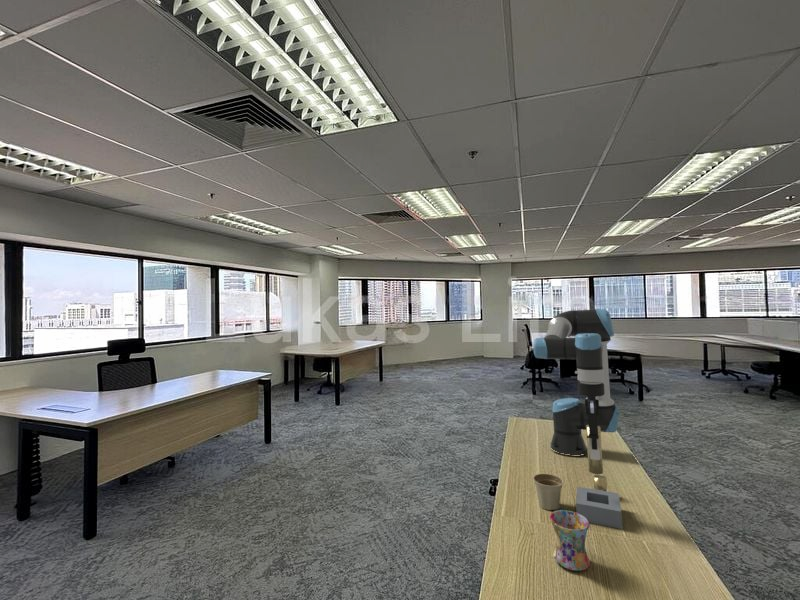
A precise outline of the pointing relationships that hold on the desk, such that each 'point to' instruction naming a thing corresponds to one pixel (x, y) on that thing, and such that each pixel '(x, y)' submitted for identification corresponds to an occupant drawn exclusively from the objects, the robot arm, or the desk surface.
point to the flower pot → (548, 490)
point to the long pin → (593, 464)
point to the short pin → (600, 482)
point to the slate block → (599, 507)
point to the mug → (570, 539)
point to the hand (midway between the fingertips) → (595, 456)
